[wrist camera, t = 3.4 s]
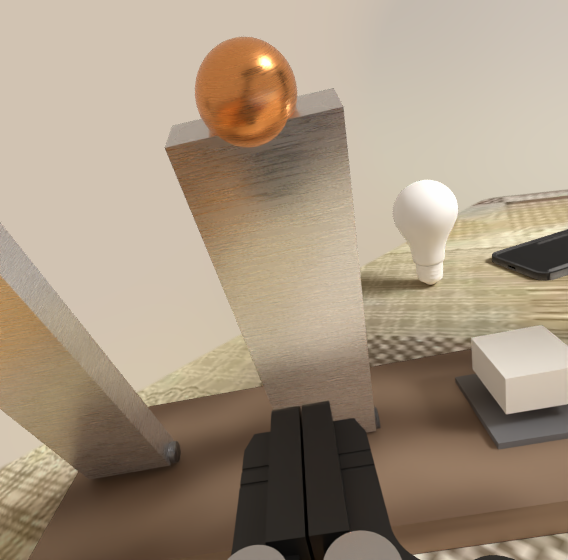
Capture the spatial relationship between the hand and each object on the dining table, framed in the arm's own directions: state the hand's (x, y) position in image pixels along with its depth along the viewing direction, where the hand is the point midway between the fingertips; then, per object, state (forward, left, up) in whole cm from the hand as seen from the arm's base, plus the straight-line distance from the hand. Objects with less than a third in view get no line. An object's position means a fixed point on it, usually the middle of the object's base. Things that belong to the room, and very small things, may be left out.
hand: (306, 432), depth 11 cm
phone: (-44, +4, -13) cm, 46 cm away
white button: (-15, +3, -10) cm, 18 cm away
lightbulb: (-34, -8, -12) cm, 37 cm away
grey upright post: (-2, -16, -9) cm, 18 cm away
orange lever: (-9, -6, -9) cm, 14 cm away
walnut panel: (-9, -6, -12) cm, 16 cm away
